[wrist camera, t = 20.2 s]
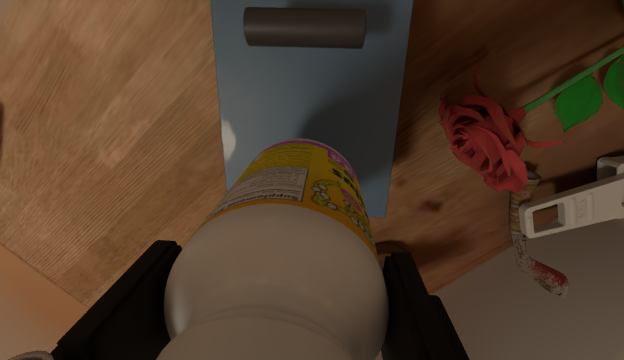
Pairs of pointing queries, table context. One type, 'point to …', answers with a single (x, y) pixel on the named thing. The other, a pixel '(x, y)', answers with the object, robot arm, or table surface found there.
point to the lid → (312, 81)
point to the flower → (505, 124)
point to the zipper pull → (581, 201)
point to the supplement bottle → (281, 267)
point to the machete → (532, 268)
